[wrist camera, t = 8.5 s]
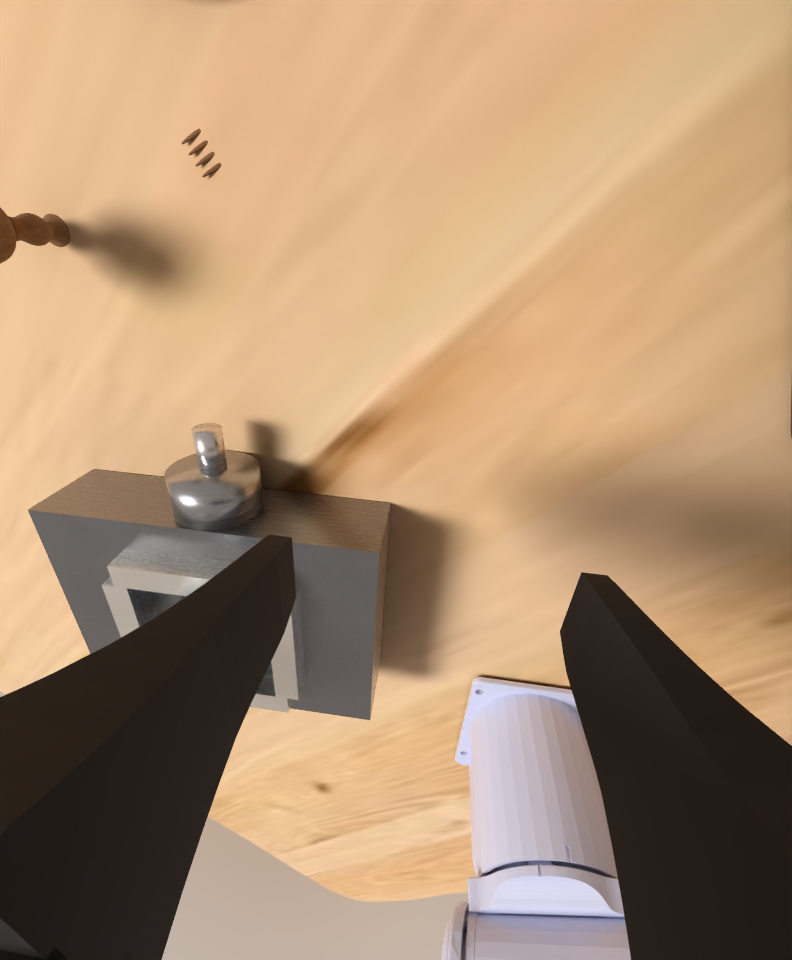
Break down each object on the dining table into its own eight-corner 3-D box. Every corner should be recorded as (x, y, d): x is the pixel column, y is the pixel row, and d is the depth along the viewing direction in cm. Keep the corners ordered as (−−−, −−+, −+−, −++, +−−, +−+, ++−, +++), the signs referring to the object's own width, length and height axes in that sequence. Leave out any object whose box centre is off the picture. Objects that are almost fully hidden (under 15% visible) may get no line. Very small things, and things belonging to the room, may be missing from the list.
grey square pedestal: (380, 659, 27) (366, 741, 23) (144, 626, 28) (86, 698, 24) (395, 429, 19) (378, 485, 15) (69, 396, 21) (-39, 438, 16)
